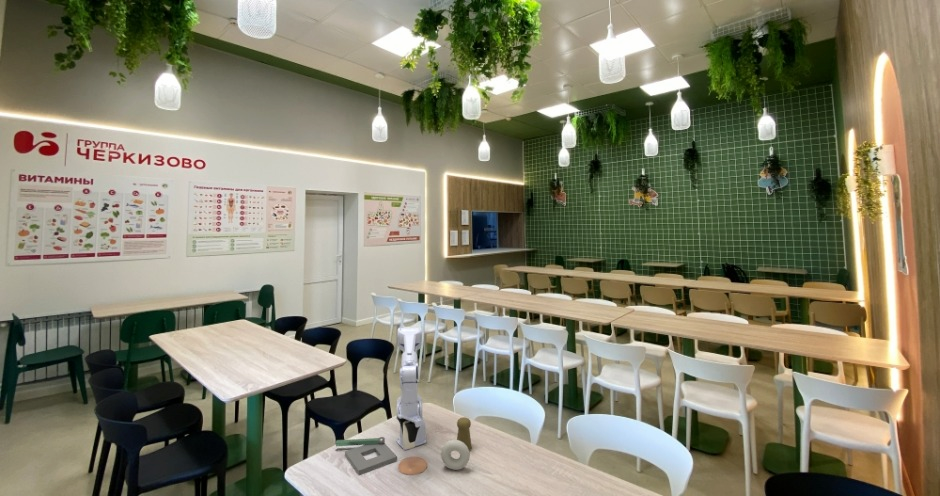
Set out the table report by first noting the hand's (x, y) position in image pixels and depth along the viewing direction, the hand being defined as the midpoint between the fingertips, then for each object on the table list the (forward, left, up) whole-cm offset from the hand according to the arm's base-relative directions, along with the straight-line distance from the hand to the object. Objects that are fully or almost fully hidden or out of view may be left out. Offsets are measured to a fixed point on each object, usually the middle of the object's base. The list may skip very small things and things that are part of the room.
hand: (409, 438), depth 134 cm
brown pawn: (-22, +2, -10) cm, 24 cm away
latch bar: (+10, -20, -8) cm, 24 cm away
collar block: (+9, -12, -9) cm, 18 cm away
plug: (0, 0, -2) cm, 2 cm away
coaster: (-1, +1, -9) cm, 9 cm away
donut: (-12, +11, -10) cm, 19 cm away
